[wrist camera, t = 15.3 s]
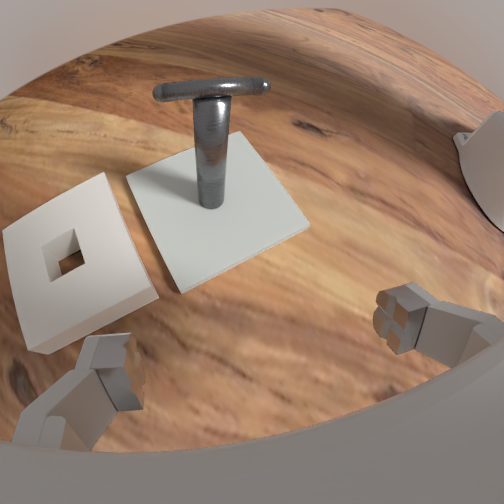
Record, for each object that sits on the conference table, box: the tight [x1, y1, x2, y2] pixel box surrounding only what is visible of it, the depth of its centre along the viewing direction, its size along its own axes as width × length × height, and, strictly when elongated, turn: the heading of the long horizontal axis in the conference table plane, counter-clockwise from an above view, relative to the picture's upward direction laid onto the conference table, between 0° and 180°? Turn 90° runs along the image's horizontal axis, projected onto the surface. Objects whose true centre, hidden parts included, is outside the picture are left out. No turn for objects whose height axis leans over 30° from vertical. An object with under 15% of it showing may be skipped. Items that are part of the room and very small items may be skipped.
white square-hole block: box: [2, 172, 159, 355], centre depth 19 cm, size 10×10×3 cm
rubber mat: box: [126, 131, 310, 294], centre depth 23 cm, size 11×11×1 cm
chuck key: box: [153, 77, 271, 209], centre depth 18 cm, size 6×2×11 cm, turn 101°
